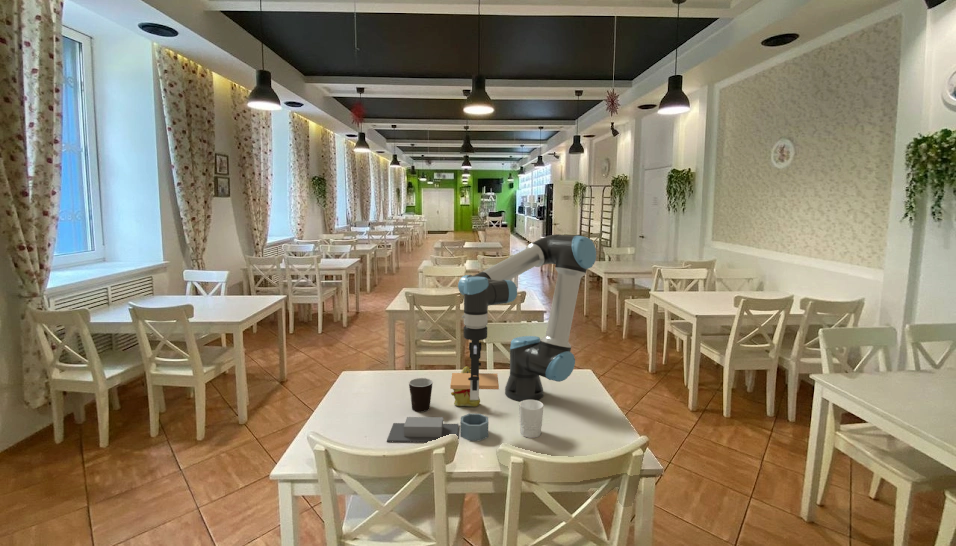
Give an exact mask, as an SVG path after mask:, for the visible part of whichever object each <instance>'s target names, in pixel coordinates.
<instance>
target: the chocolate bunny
mask: <svg viewBox="0 0 956 546" xmlns="http://www.w3.org/2000/svg"><path fill="white" fill-rule="evenodd" d="M460 373H471V367H469V366H464V367H463V368H462V370H461V372H460ZM450 394H451V396H453V398H454V402H453V405H454V406H456V407H474V408H475V407H478V406H479V405H480V403H481V398H480V397H479V400H470V389H452V392H450Z"/></svg>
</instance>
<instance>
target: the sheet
mask: <svg viewBox="0 0 956 546" xmlns="http://www.w3.org/2000/svg"><path fill="white" fill-rule="evenodd" d="M470 377H471V373H461V372H452V373H451V378H450V385H449V387H450V390H453V389H470V380H468V378H470ZM499 384H500V383H499V376H498V373H494V372H493V373H488V372H487V373H486V372H485V373H483V372H482V373H481V372H479V390H500V389H499Z"/></svg>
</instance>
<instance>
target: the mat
mask: <svg viewBox="0 0 956 546" xmlns="http://www.w3.org/2000/svg"><path fill="white" fill-rule="evenodd" d="M458 432H459V423H444V416H440V417H439V416H437V417H436V416H435V417H434V416H433V417H429V416H407V417H406V419H405V421H404V422H394V423H393V424H392V425H391V429H390V432H389V434H388V436H387V438H386V443H427V442H428V441H432V440H436V439H438V438H440V437H443V436H446V435H449V434H456V435H457V436H458V435H459V434H458ZM388 441H389V442H388ZM390 441H391V442H390ZM392 441H393V442H392Z"/></svg>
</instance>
